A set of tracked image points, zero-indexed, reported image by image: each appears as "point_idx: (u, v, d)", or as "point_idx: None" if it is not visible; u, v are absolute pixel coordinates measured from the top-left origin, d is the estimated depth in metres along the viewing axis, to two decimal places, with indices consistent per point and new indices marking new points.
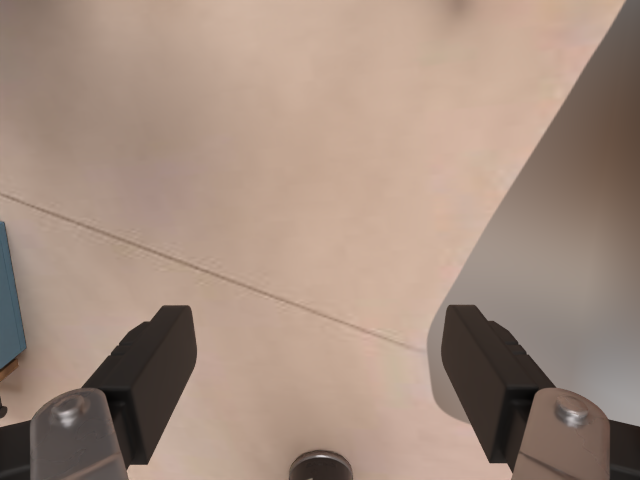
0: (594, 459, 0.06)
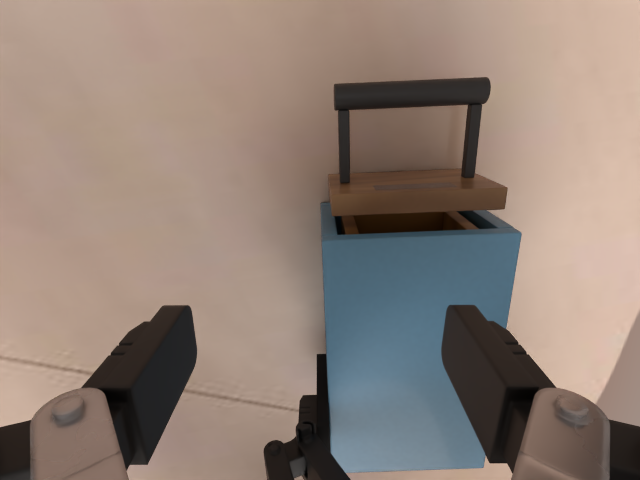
0: (594, 459, 0.06)
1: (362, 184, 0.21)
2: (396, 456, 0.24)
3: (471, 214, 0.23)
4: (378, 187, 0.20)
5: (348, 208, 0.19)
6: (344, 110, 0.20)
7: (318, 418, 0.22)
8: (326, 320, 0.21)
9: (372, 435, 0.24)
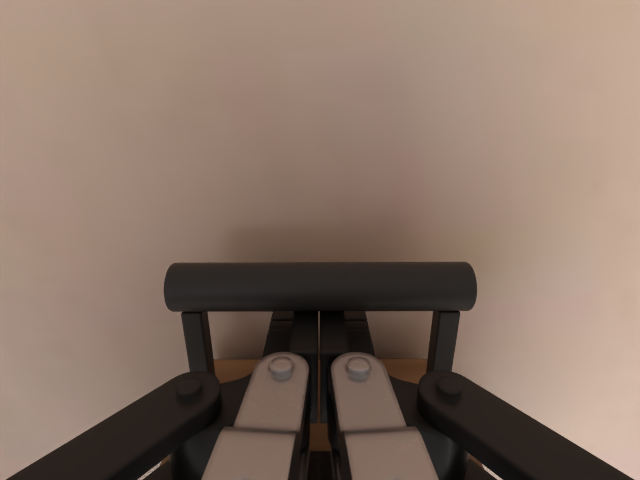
0: (349, 406, 0.07)
1: None
2: None
3: None
4: None
5: None
6: (190, 315, 0.10)
7: None
8: None
9: None
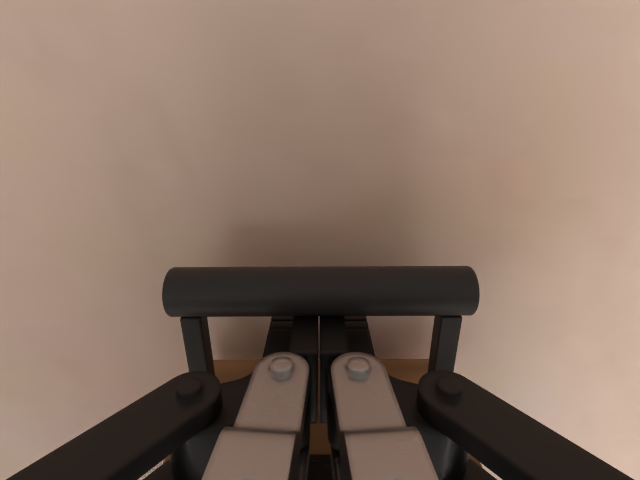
0: (349, 406, 0.07)
1: None
2: None
3: None
4: None
5: None
6: (189, 320, 0.10)
7: None
8: None
9: None
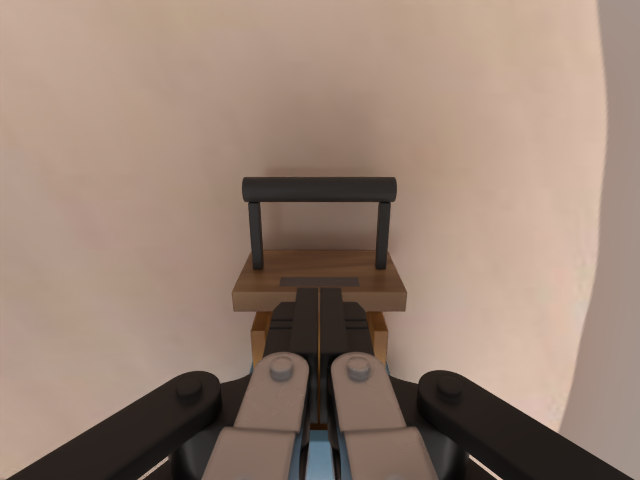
0: (349, 406, 0.07)
1: (272, 273, 0.21)
2: None
3: None
4: (284, 281, 0.20)
5: (249, 305, 0.19)
6: (253, 203, 0.20)
7: None
8: None
9: None
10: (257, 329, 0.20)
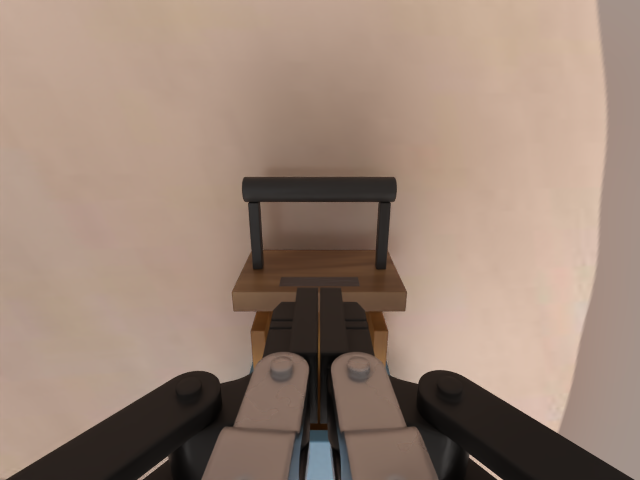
0: (349, 406, 0.07)
1: (272, 273, 0.21)
2: None
3: None
4: (284, 281, 0.20)
5: (249, 304, 0.19)
6: (253, 203, 0.20)
7: None
8: None
9: None
10: (257, 329, 0.20)
